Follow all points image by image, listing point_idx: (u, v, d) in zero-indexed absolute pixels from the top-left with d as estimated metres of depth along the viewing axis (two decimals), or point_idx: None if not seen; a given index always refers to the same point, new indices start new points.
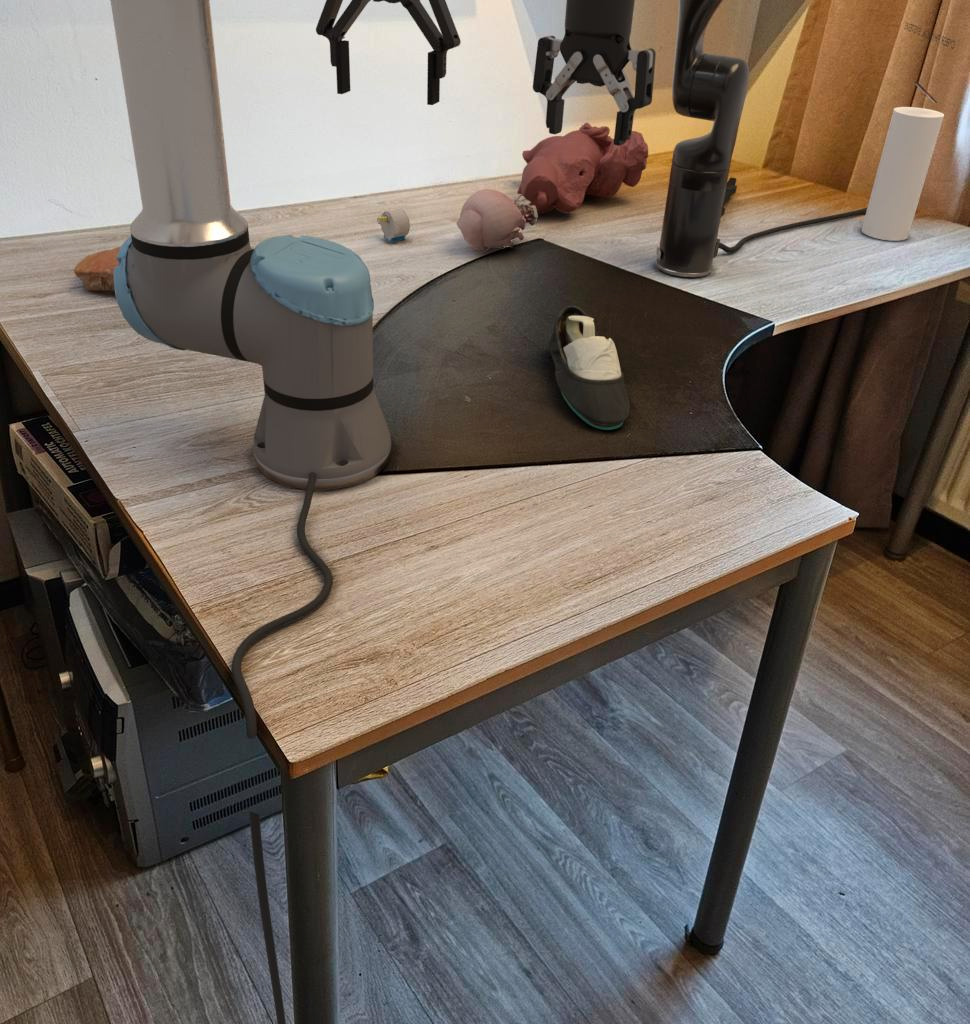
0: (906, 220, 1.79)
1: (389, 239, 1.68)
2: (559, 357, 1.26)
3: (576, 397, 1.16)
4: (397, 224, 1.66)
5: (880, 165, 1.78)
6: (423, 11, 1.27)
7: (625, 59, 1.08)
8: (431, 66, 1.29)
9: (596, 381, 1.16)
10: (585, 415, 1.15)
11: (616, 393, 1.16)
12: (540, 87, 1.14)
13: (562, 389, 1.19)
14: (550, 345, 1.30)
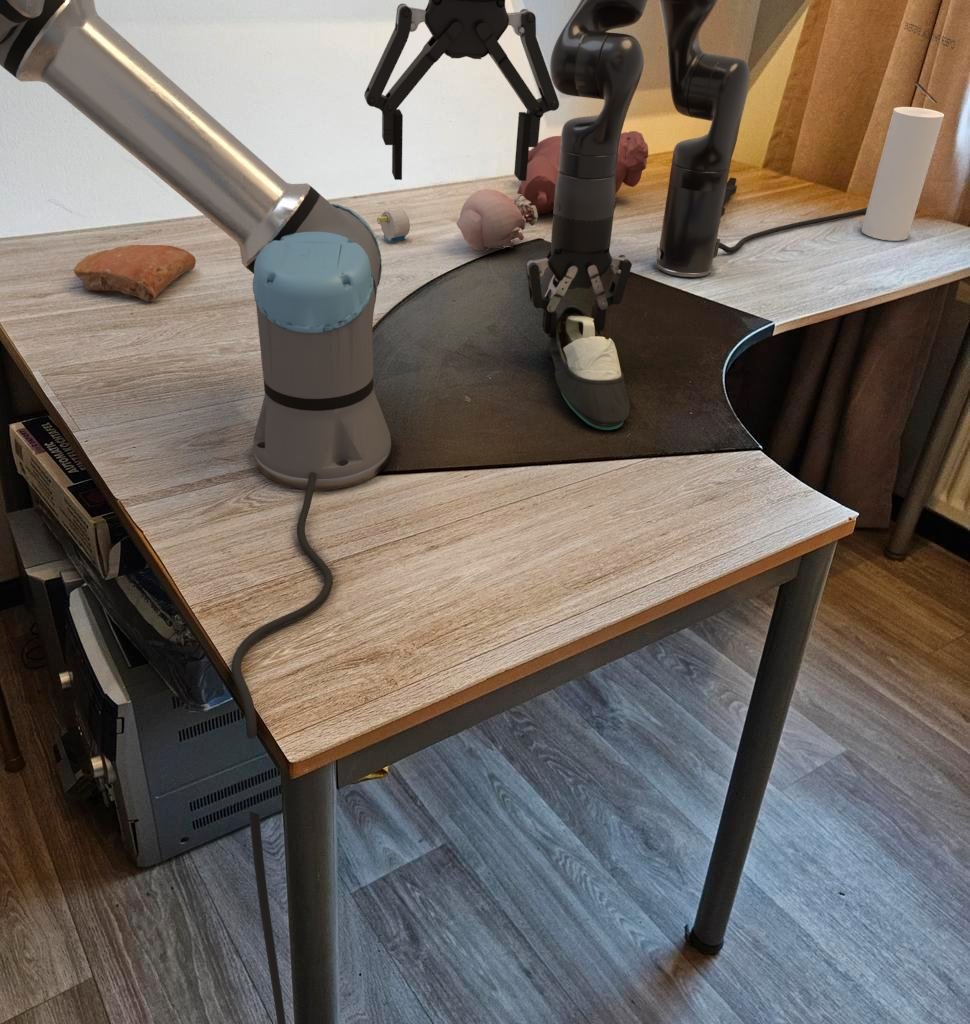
0: (906, 220, 1.79)
1: (389, 239, 1.68)
2: (559, 357, 1.26)
3: (576, 397, 1.16)
4: (397, 224, 1.66)
5: (880, 165, 1.78)
6: None
7: (611, 263, 1.24)
8: (527, 134, 1.02)
9: (596, 381, 1.16)
10: (585, 415, 1.15)
11: (616, 393, 1.16)
12: (541, 302, 1.25)
13: (562, 389, 1.19)
14: (550, 345, 1.30)
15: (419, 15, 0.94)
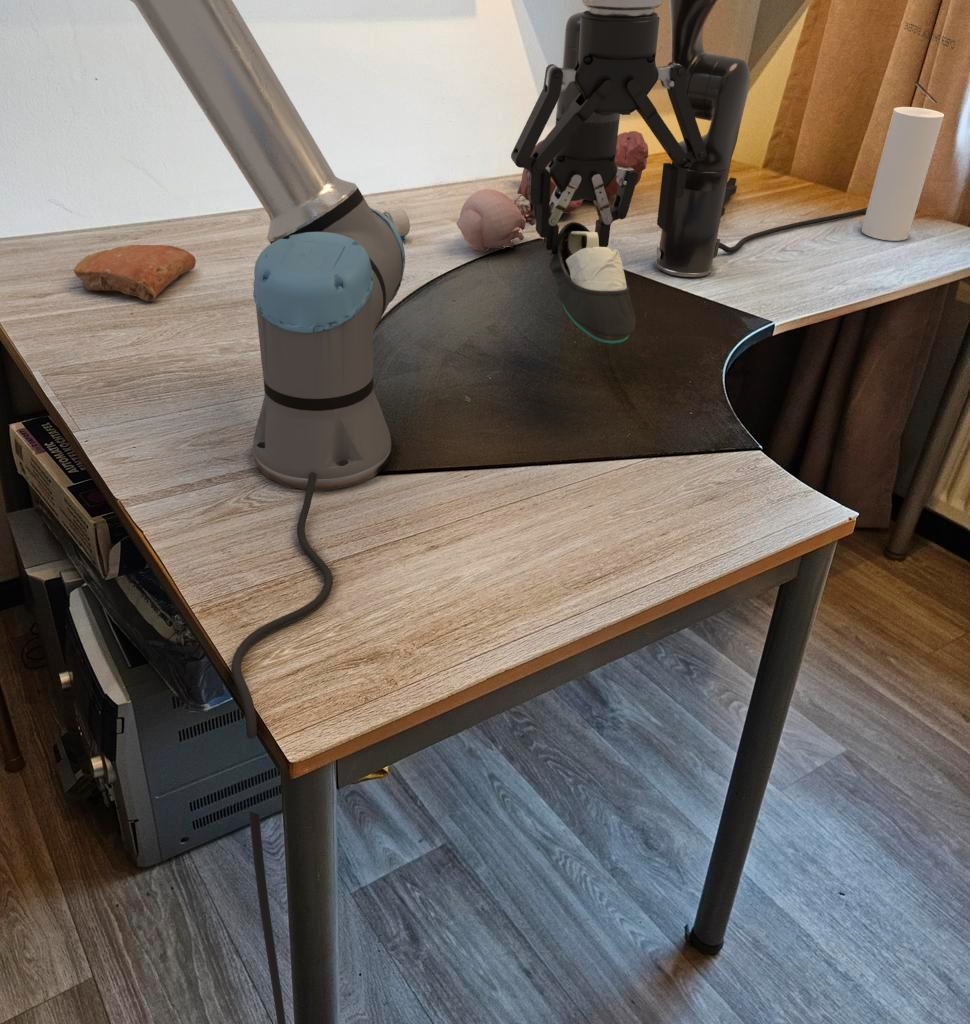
0: (906, 220, 1.79)
1: None
2: (561, 274, 1.20)
3: (579, 309, 1.10)
4: (397, 224, 1.66)
5: (880, 165, 1.78)
6: None
7: (616, 173, 1.18)
8: (674, 185, 1.01)
9: (600, 292, 1.10)
10: (589, 327, 1.09)
11: (621, 305, 1.10)
12: None
13: (564, 302, 1.13)
14: (551, 264, 1.24)
15: (569, 75, 0.94)
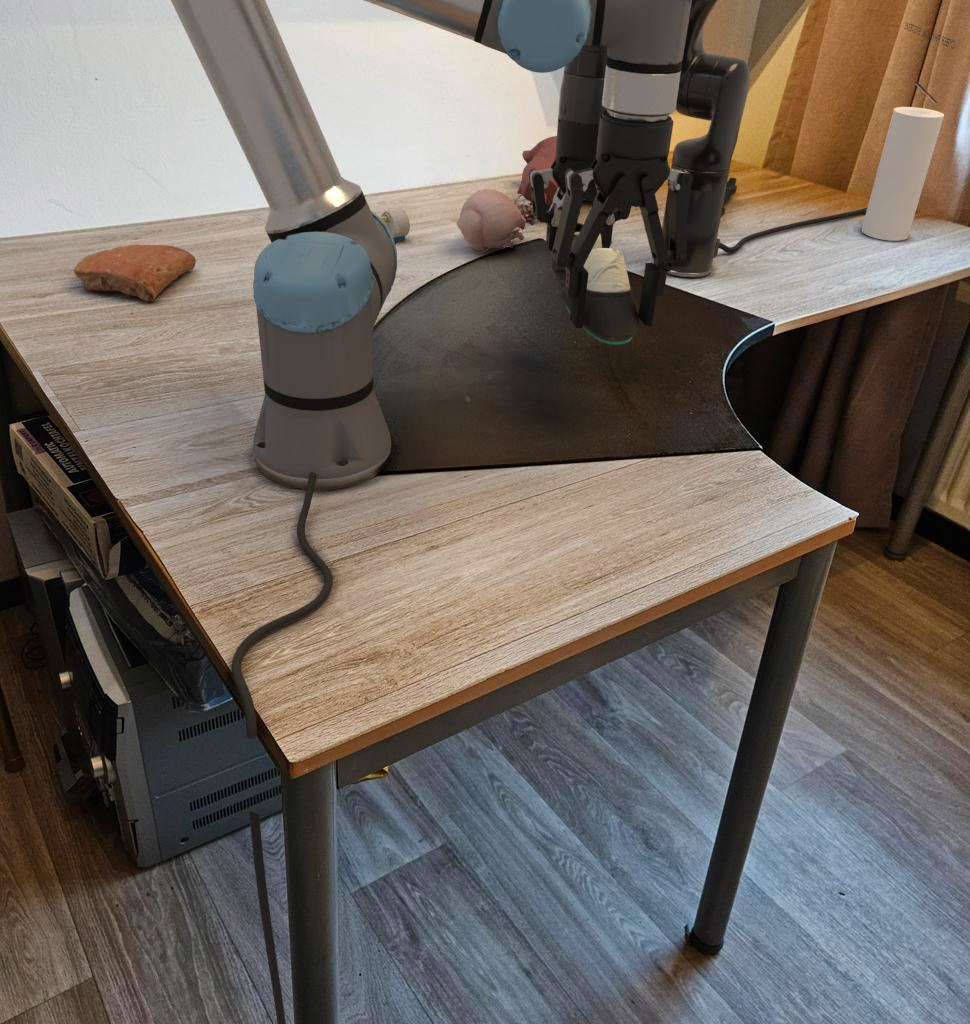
0: (906, 220, 1.79)
1: None
2: (564, 275, 1.20)
3: None
4: (397, 224, 1.66)
5: (880, 165, 1.78)
6: None
7: None
8: (655, 285, 1.08)
9: (604, 293, 1.10)
10: (592, 329, 1.09)
11: (625, 306, 1.10)
12: (545, 216, 1.19)
13: (568, 304, 1.13)
14: (554, 264, 1.24)
15: (587, 175, 1.00)
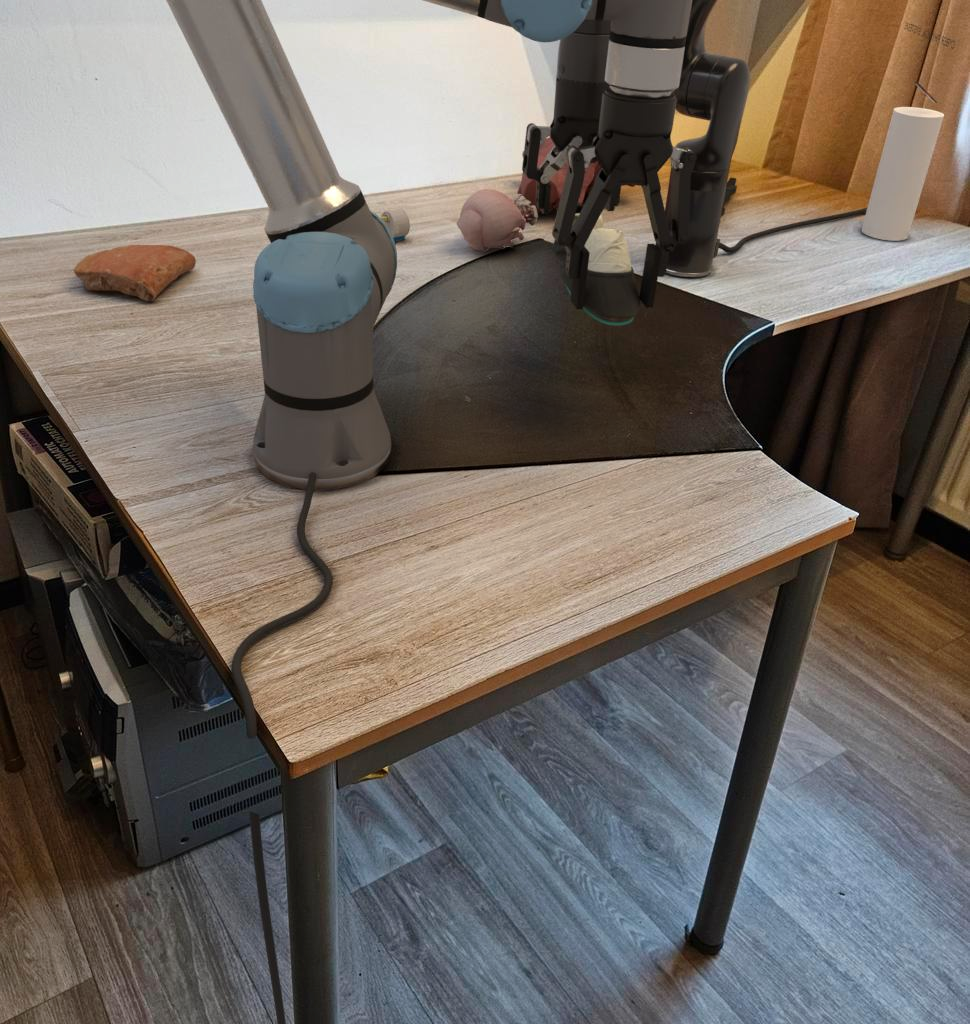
0: (906, 220, 1.79)
1: None
2: (564, 256, 1.19)
3: None
4: (397, 224, 1.66)
5: (880, 165, 1.78)
6: None
7: None
8: (657, 265, 1.07)
9: (605, 273, 1.08)
10: (593, 309, 1.08)
11: (626, 287, 1.08)
12: (534, 173, 1.17)
13: (568, 284, 1.12)
14: (554, 246, 1.23)
15: (589, 153, 0.99)
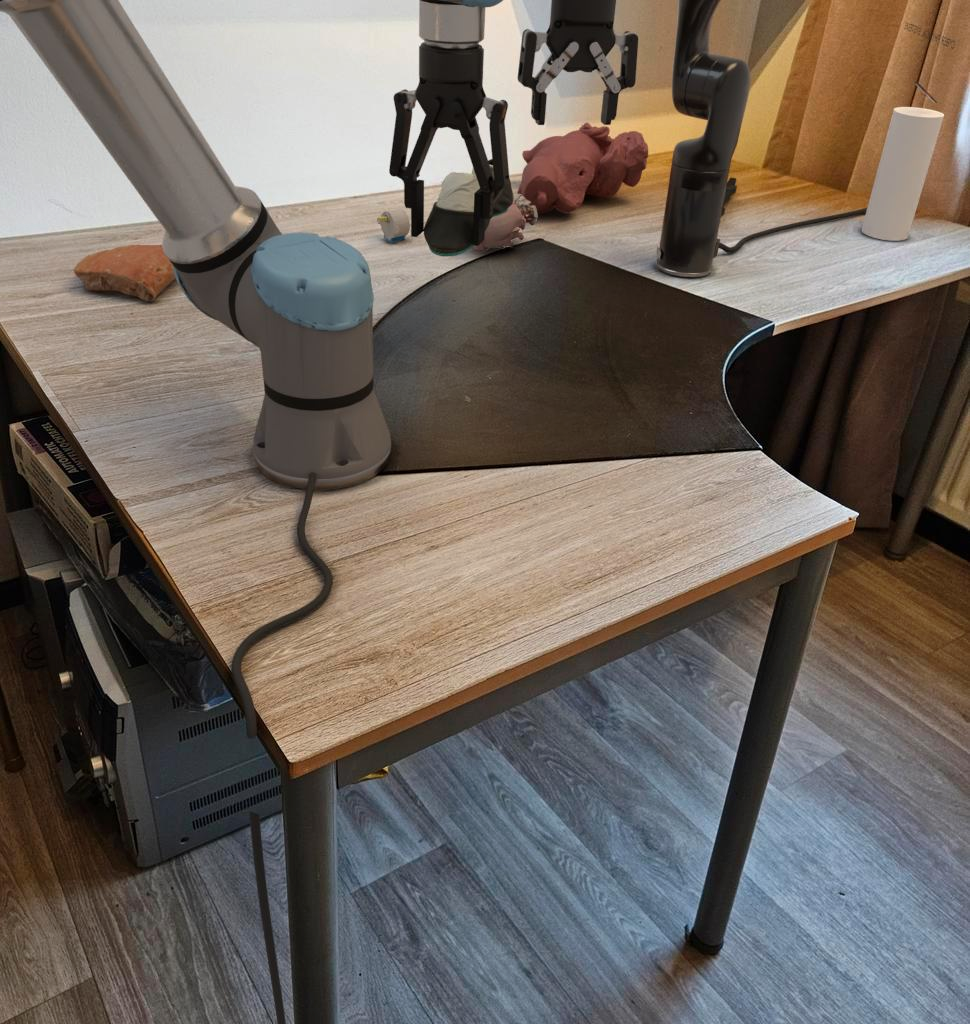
0: (906, 220, 1.79)
1: (389, 239, 1.68)
2: None
3: (427, 223, 1.24)
4: (397, 224, 1.66)
5: (880, 165, 1.78)
6: (480, 145, 1.16)
7: (614, 43, 1.15)
8: (478, 207, 1.19)
9: (444, 209, 1.23)
10: (425, 239, 1.23)
11: (457, 223, 1.22)
12: (529, 81, 1.15)
13: None
14: None
15: (411, 96, 1.15)
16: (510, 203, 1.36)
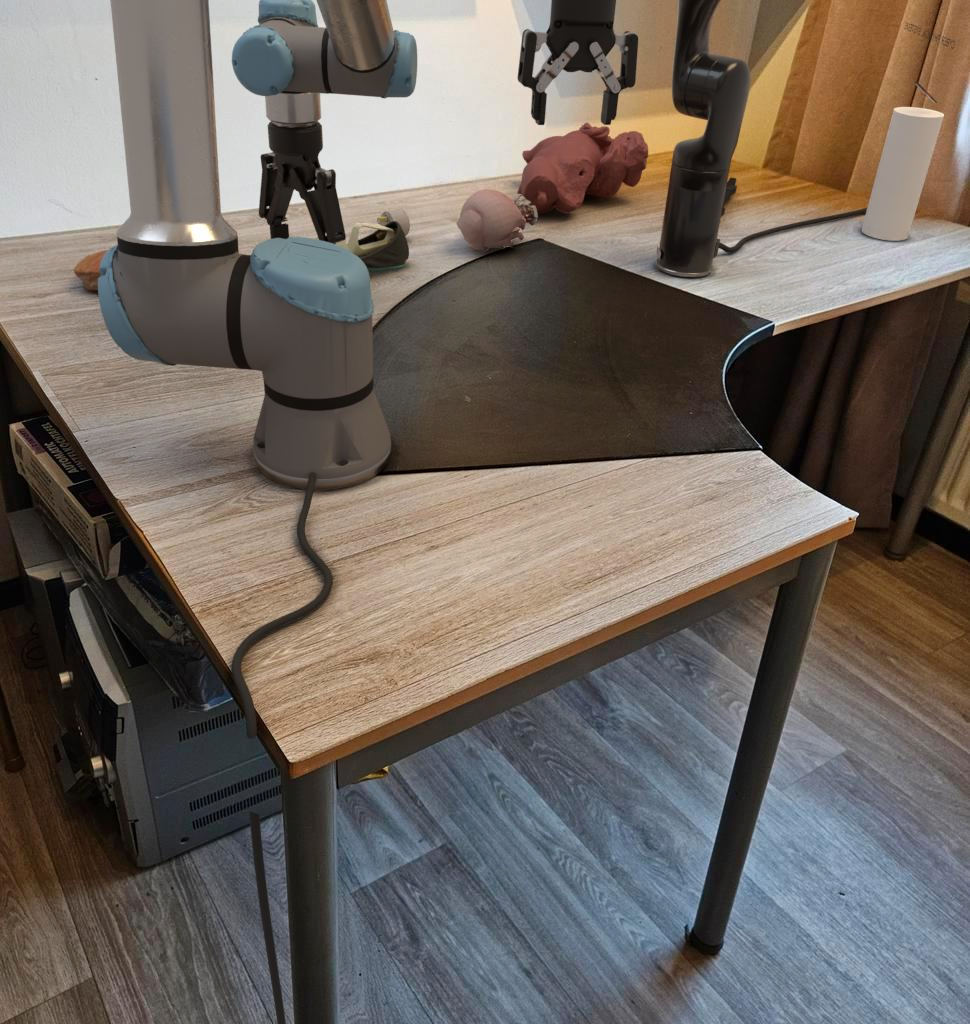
0: (906, 220, 1.79)
1: None
2: None
3: None
4: None
5: (880, 165, 1.78)
6: (320, 205, 1.38)
7: (614, 43, 1.15)
8: None
9: None
10: None
11: None
12: (529, 81, 1.15)
13: None
14: None
15: (273, 159, 1.40)
16: (398, 261, 1.55)
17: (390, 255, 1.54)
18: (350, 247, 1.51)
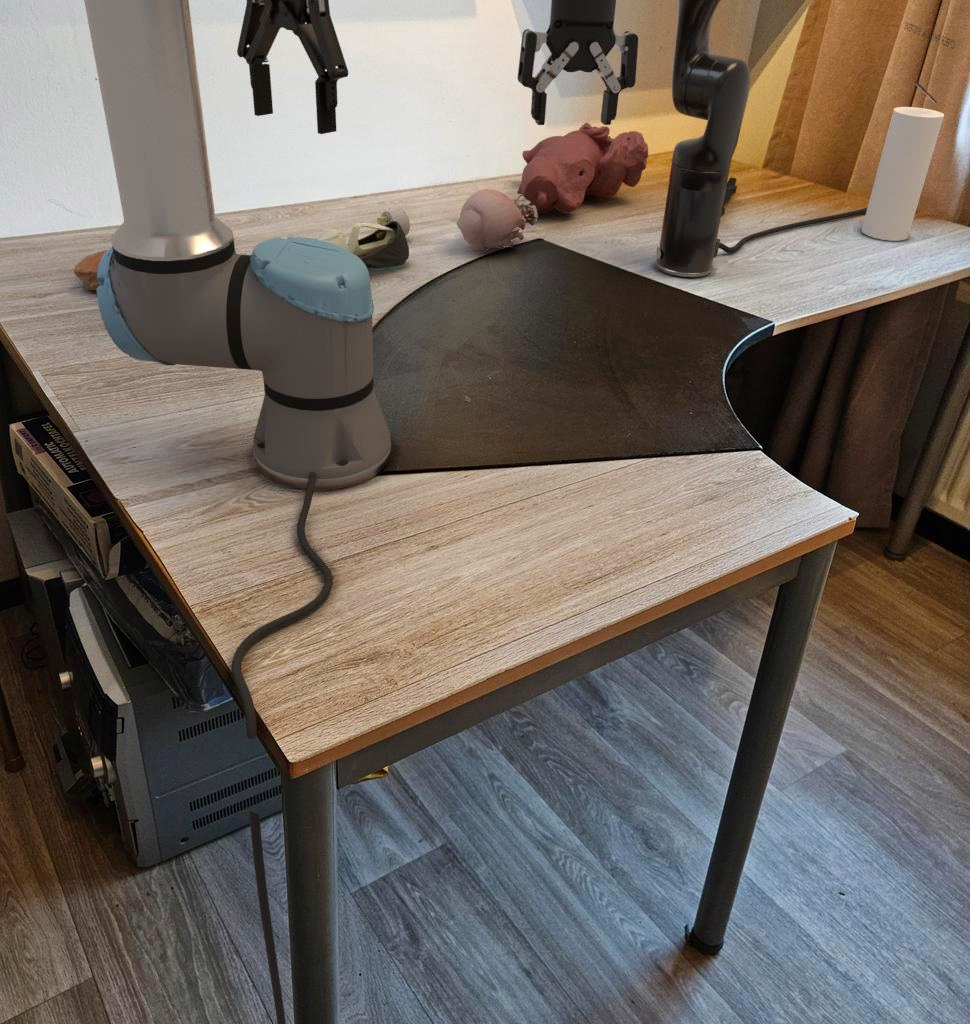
0: (906, 220, 1.79)
1: None
2: None
3: None
4: None
5: (880, 165, 1.78)
6: (316, 40, 1.26)
7: (614, 43, 1.15)
8: (318, 95, 1.27)
9: None
10: None
11: None
12: (529, 81, 1.15)
13: None
14: None
15: None
16: (398, 260, 1.55)
17: (390, 255, 1.54)
18: (350, 247, 1.51)
